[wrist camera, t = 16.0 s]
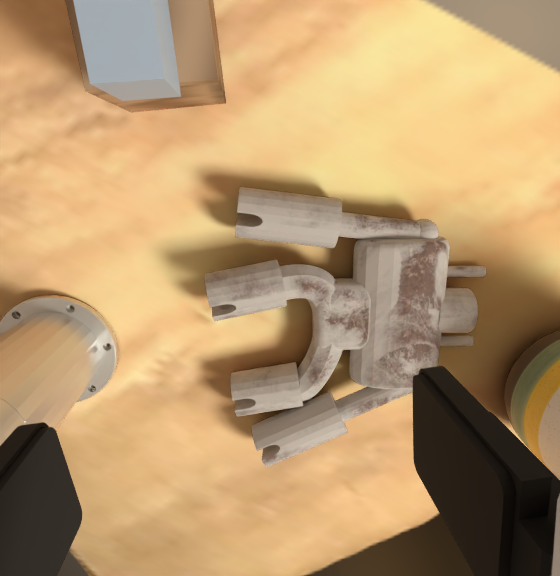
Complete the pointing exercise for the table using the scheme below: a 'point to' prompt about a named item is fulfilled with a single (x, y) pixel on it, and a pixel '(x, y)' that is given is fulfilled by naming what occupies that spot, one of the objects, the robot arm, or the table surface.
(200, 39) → the open wooden box
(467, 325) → the white branched piece
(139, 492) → the table surface
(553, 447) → the vase
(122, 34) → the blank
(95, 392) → the robot arm
